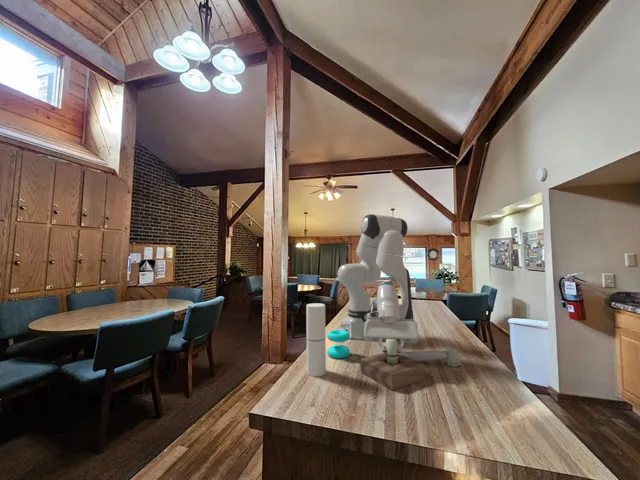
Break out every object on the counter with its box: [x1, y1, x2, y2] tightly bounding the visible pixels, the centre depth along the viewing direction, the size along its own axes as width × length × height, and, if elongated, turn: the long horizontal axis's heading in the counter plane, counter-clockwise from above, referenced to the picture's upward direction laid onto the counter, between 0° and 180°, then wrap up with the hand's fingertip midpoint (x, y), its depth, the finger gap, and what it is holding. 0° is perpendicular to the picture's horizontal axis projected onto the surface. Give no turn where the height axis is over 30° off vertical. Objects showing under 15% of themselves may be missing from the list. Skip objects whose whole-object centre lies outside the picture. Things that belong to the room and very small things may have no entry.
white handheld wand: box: [398, 348, 462, 368], centre depth 111 cm, size 5×7×25 cm
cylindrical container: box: [305, 302, 327, 377], centre depth 104 cm, size 7×7×25 cm
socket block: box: [360, 352, 426, 391], centre depth 100 cm, size 16×16×5 cm
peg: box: [385, 339, 399, 365], centre depth 100 cm, size 4×4×10 cm
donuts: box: [326, 329, 351, 359], centre depth 121 cm, size 10×10×10 cm
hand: (392, 352), depth 100 cm, fingers closed on peg, 4 cm apart
